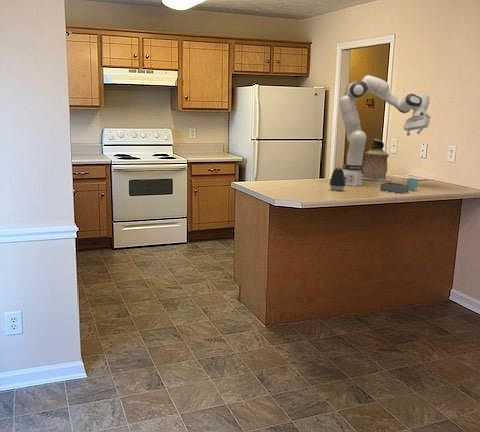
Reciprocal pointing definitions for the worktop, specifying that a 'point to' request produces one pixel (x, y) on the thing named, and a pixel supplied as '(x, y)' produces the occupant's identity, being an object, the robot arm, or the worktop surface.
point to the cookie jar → (375, 162)
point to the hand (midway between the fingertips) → (413, 134)
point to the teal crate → (412, 183)
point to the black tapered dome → (337, 180)
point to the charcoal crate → (394, 187)
